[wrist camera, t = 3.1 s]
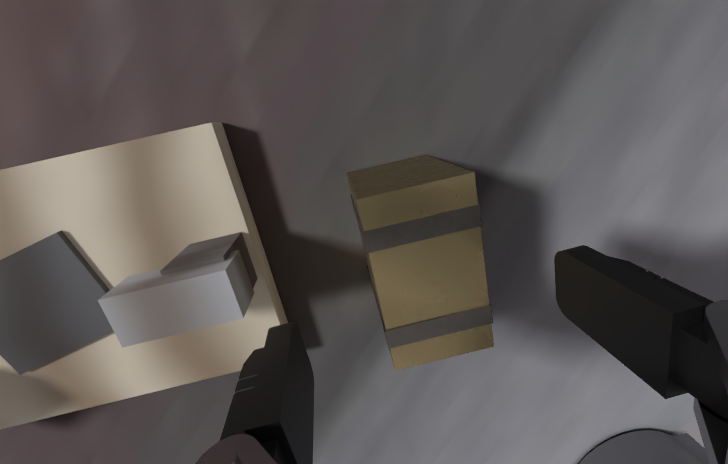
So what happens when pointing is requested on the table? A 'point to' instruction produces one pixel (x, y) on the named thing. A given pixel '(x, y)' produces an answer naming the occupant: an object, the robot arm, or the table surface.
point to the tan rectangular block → (424, 257)
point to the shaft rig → (127, 274)
